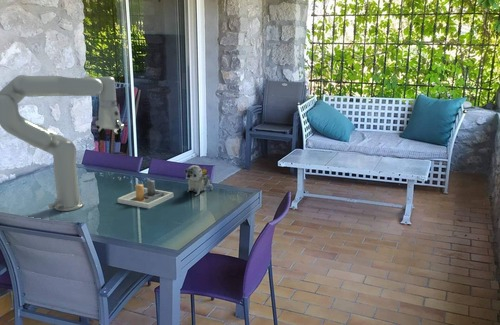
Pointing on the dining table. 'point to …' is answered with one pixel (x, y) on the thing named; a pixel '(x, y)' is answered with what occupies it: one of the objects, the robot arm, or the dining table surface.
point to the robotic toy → (197, 179)
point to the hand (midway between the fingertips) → (110, 141)
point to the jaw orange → (139, 192)
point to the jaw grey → (151, 188)
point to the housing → (149, 201)
